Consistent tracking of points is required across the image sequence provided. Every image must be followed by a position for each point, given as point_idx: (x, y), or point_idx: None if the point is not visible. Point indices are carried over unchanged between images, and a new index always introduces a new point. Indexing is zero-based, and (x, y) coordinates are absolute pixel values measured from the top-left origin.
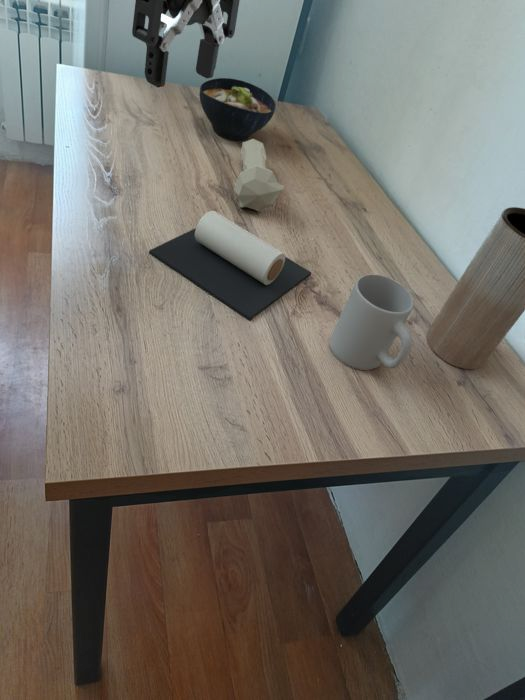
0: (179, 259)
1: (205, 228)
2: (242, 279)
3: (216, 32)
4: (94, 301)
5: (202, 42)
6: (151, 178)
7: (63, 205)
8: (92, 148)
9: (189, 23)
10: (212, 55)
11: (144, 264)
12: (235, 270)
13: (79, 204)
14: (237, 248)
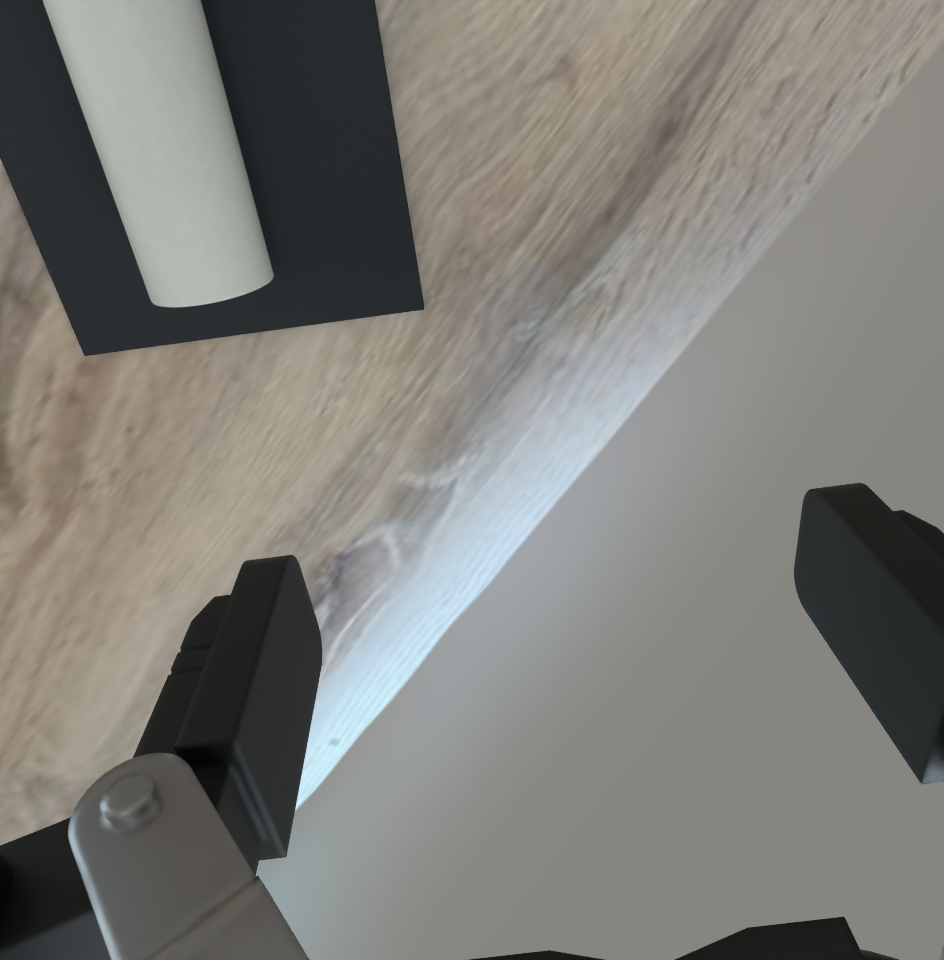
0: (367, 227)
1: (248, 253)
2: (222, 14)
3: (222, 867)
4: (694, 200)
5: (282, 822)
6: (193, 588)
7: (493, 560)
8: None
9: (798, 943)
10: (255, 678)
11: (468, 269)
12: None
13: (455, 552)
14: (202, 86)
